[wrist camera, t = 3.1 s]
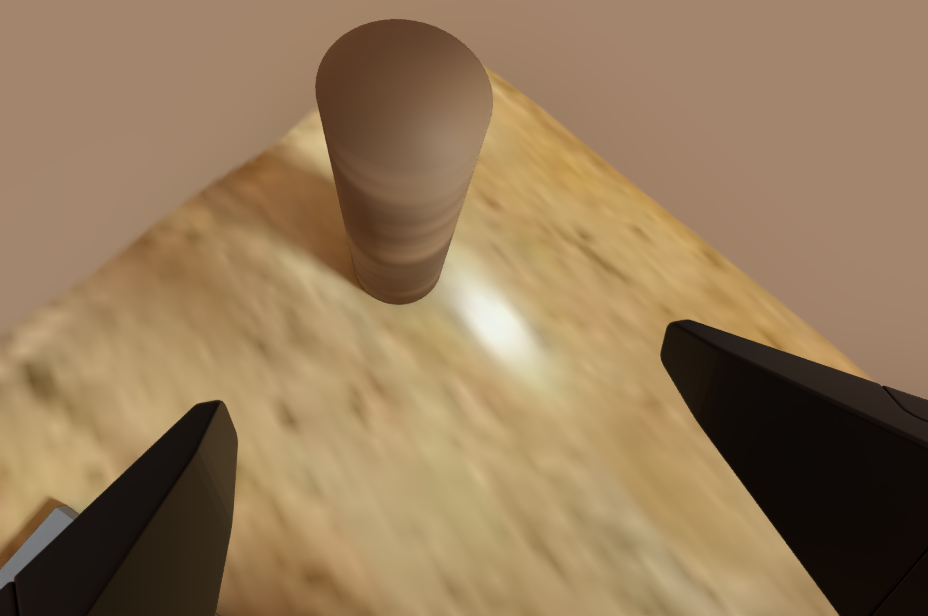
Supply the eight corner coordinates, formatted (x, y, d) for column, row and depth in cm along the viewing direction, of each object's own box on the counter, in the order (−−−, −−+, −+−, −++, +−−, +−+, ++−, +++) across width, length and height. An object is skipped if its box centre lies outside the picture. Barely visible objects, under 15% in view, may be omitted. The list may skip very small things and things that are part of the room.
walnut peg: (457, 255, 24) (524, 85, 12) (408, 321, 23) (428, 204, 11) (389, 207, 24) (388, -10, 12) (335, 270, 23) (276, 99, 11)
